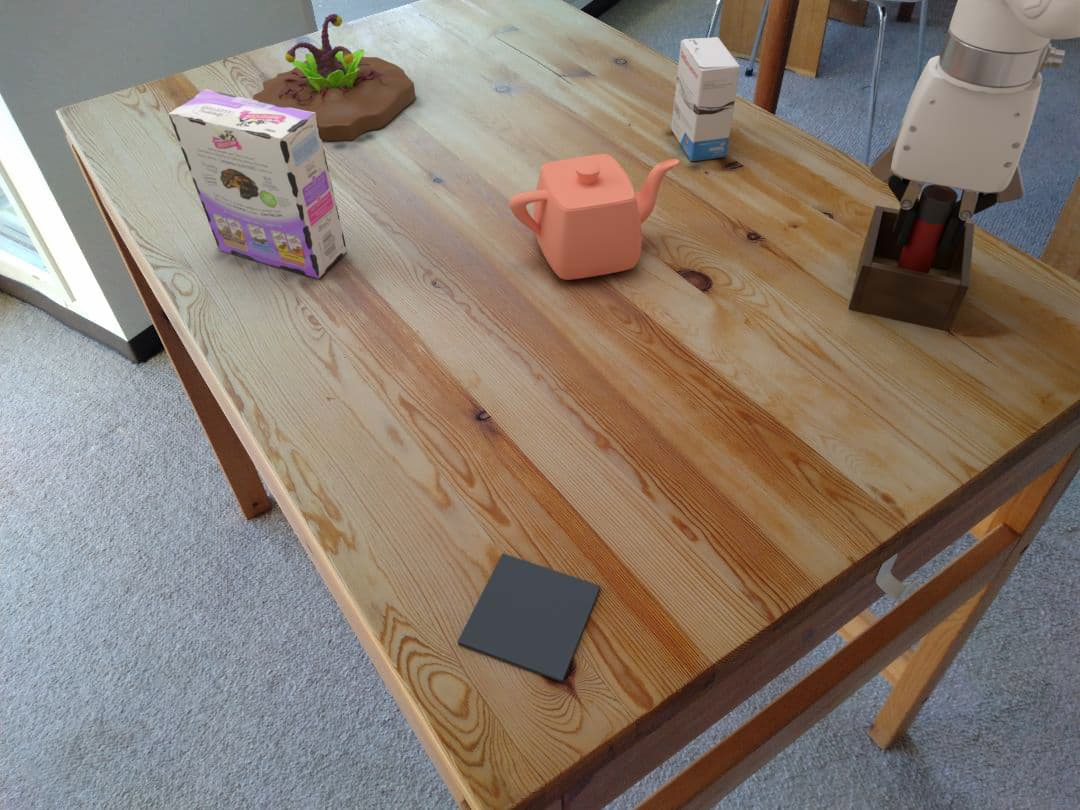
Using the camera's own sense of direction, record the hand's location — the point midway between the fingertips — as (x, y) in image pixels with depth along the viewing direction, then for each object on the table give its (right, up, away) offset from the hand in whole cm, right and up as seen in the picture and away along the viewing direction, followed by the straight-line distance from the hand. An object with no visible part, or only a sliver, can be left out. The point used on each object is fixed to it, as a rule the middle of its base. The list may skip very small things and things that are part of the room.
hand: (922, 241), depth 83 cm
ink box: (-17, +17, +25) cm, 35 cm away
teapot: (-31, +1, +10) cm, 33 cm away
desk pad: (-38, -31, -21) cm, 53 cm away
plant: (-65, +26, +34) cm, 78 cm away
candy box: (-66, +1, +11) cm, 67 cm away
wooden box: (0, -4, +4) cm, 6 cm away
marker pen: (0, -4, +4) cm, 6 cm away
